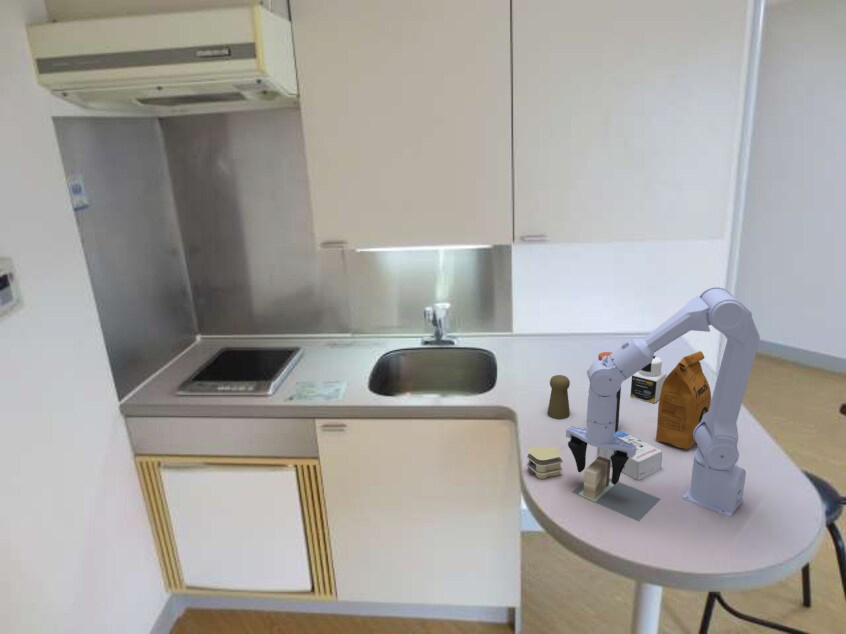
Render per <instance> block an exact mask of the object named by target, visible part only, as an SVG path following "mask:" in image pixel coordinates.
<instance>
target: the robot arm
mask: <svg viewBox="0 0 846 634" xmlns="http://www.w3.org/2000/svg"><path fill="white" fill-rule="evenodd" d="M710 326H712V327H713V329H715V330H717V331H718V332H720V333H721V334H723V335H724V337H725V338H726V342H725V343H726V344H725V347H724V351H723V354H722V359H721V363H720V366H719V370H718V374H717V377H716V380H715V381H716V382H715V386H714V389H713V392H712V395H711V403H710V407H709V411H708V412H707V413H705V414H704V415H703V417H702V420H701V422H700V423H699V424H698V425H697V426H696V428H695V429H694V432H693V437H694V440H695V442H696V443H695V444H697V448H696V450H695V451H694V452H693V453H694V455H693V462H692V463H693V464H692V470H691V471H692V472H691V480H690V487H689V488H688V489H687V491H685V493H683V495H682V496H681V498H682V500H685V501H687V502H691V503H692V504H696V505H698V506H701V507H703V508H706V509H708V510H710V511H713V512H716V513H719V514H721V515H724V516H727V517H732V516H733V514H734V513H735V511H736V510H737V509H738V507H739V506H740V505H741V503H742V502H743V501H744V489H745V483H746V474H747V473H746V469H744V468H742V467H741V466H738V465H737V463H738V460H739V457H740V453H739V449H738V442H739V432H738V425H737V423H738V422H737V421H738V418H739V415H740V411H741V408H742V404H743V400H744V397H745V394H746V390H747V387H748V384H749V380H750V375H751V372H752V368H753V365H754V362H755V358H756V354H757V351H758V347H759V344H760V333H759V331H758V328H757V326H756V324H755V322H754V318H753V313H752V311H751V310H750V309H748V308H747V306H745V305H744V303H743V302H741V301H740V300H738V299H736V298H735V297H734V295H732V294H731V292H729V290H727V289H725V288H723V287H720V286H713V287H712V286H711V287H709V288H706V289H705V290H703V291H702V292H701V293H700V294H699V295H696V296H694V297H692V298H691V299H690V300H689V301H688V302H687V303H686V304H685V305H684V306H683V307H682V308H680V309H679V310H678V311H677V312H675V313H674V314H673V315H672V316H671V317H669V318H668V319H666V320H665V321H664V322H662V324H660V325H659V326H657V327H656V328H655V329H653V330H652V331H651V332H650V333H649V334H648V335H646V336H645V337H644V338H637V337H636V338H634V337H633V338H632V339H630V340H628V339H625V340H624V341H622V342H621V347H619V348H618V349H616V350H615V351H612V354H610V355H609V356H608V357H607V356H604V357H603V358H602V361H600V360H596V361H594V362H592V364H591V365H589V368H588V370H586V374H587V377H588V380H589V388H588V396H587V405H586V406H587V407H586V427H585V428H584V427H578V426H573V425H569V426H568V427H567V428H566V430H565V438H568V439H569V441H568V442H567V447H568V448H569V449H570V452H571V454H572V455H573V458H574V461H575V464H576V469H577V472H578V473H582V472H583V471H585V469H586V463H587V462H586V458H587V457H586V456H587V448H588V445H590V446H592V447H596V448H597V447H599V448H606V449H610V450H614V451H616V453H615V454H614V455H613V456H612V457H611V461H612V466H611V469H612V471H611V479H612V484H614V485H615V484H616V483H617V482H620V477H621V474H622V473H623V472H622V469H623V467H624V465H625V463H626V462H627V460H628V459H629V457H630V458H632V457H633V456H634V455H635V454H636V446H635V445H632V444H630V443H628V442H626V441H624V440H622V439H620V438H618V437H617V436H615V433H616V431H615V425H616V409H617V398H616V395H617V392H618V391H619V389H620V387H621V388H622V383H623V382H624V381H626V380H628V379H629V378H632V375H633V374H635V373H636V372H638V371H639V370H641V369H642V368H644V367H645V366H647V365H648V364H650V363H651V362H652V360H653V356H655V353H656V352H659V350H661V349H662V348H664V347H666V346H667V345H669V344H670V343H672V342H674V341H676V340H677V339H679V338H680V337H682V336H684V335H685V334H687V333H689V332H691V331H694V332H695V331H697V332H705V333H707V332H709V333H710V332H711V329H710Z"/></svg>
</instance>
